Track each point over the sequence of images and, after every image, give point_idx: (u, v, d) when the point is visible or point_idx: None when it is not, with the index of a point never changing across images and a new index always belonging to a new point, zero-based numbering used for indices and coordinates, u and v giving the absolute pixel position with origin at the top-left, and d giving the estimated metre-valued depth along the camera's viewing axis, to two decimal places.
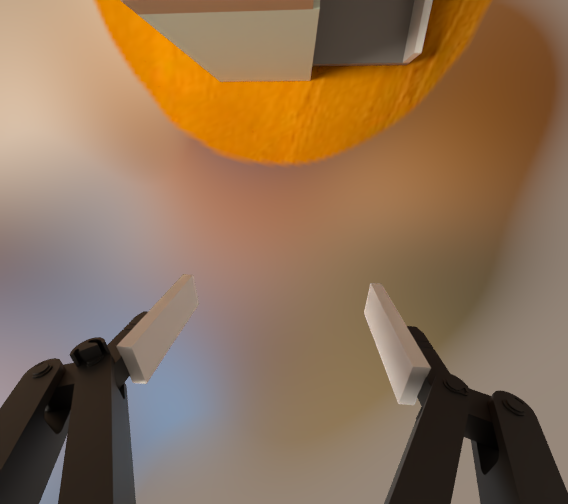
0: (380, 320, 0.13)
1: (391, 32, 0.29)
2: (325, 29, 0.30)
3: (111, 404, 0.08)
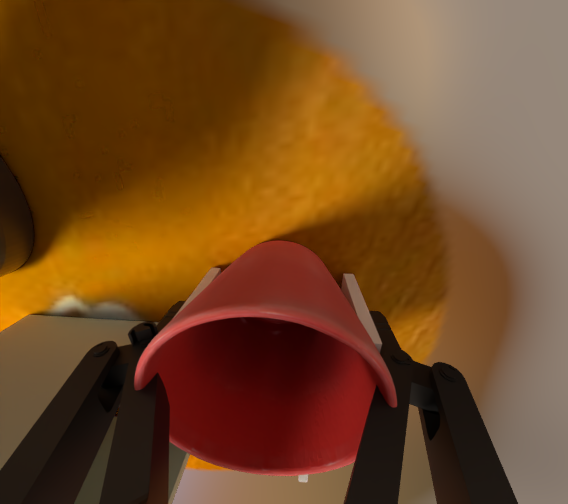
0: None
1: None
2: None
3: (156, 387, 0.09)
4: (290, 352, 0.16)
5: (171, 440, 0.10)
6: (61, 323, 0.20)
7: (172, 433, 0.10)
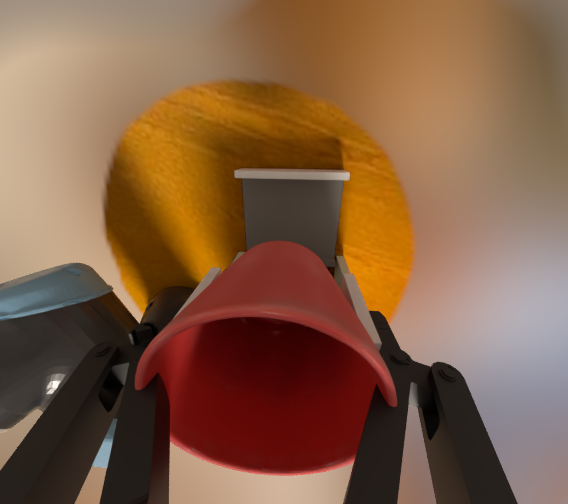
0: None
1: (319, 192, 0.32)
2: (312, 247, 0.36)
3: (156, 387, 0.09)
4: (290, 352, 0.16)
5: (171, 440, 0.10)
6: None
7: (172, 433, 0.10)
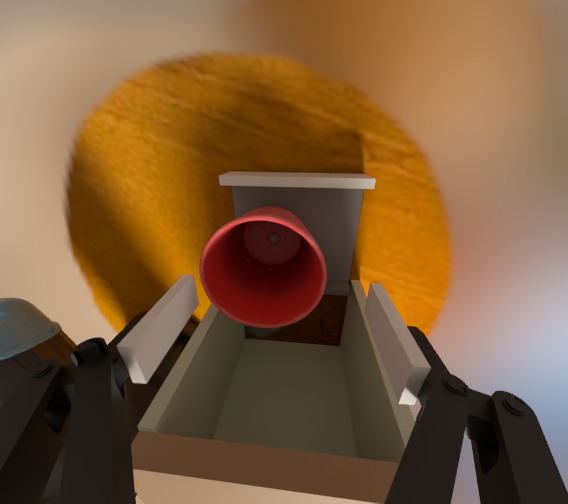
0: (380, 320, 0.13)
1: (331, 202, 0.24)
2: None
3: (111, 404, 0.08)
4: (277, 278, 0.25)
5: (212, 300, 0.19)
6: None
7: (213, 297, 0.19)
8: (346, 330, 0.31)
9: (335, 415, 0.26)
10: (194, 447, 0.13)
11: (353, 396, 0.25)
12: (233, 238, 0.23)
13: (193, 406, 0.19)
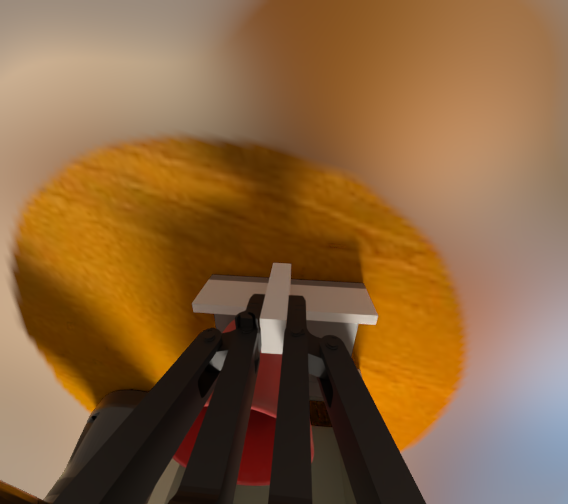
0: None
1: None
2: None
3: (246, 379, 0.09)
4: None
5: (179, 462, 0.16)
6: None
7: (179, 457, 0.16)
8: None
9: None
10: None
11: None
12: None
13: None
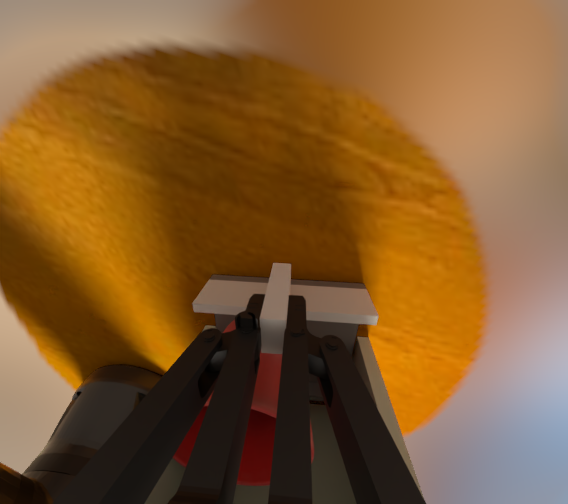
0: None
1: None
2: None
3: (246, 379, 0.09)
4: None
5: (179, 461, 0.16)
6: None
7: (179, 457, 0.16)
8: None
9: None
10: None
11: None
12: None
13: None
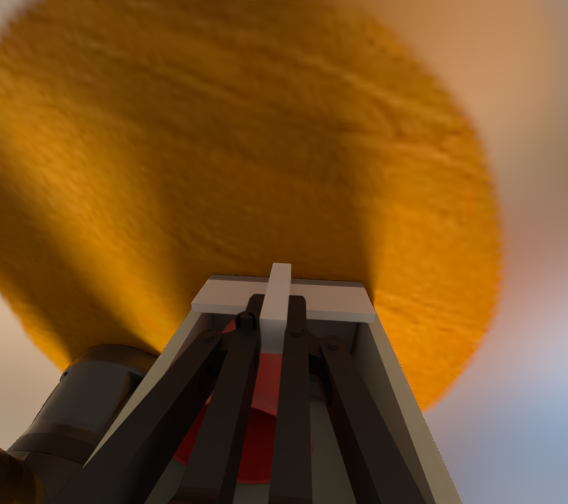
0: None
1: None
2: None
3: (246, 379, 0.09)
4: None
5: (179, 460, 0.16)
6: None
7: (179, 456, 0.16)
8: None
9: None
10: None
11: None
12: None
13: None
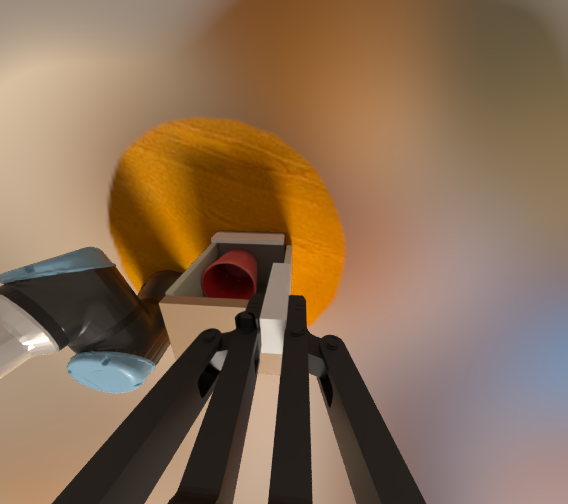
0: None
1: (269, 247, 0.48)
2: (268, 281, 0.51)
3: (246, 379, 0.09)
4: (242, 286, 0.49)
5: (207, 296, 0.42)
6: None
7: (207, 294, 0.42)
8: None
9: None
10: (190, 298, 0.32)
11: None
12: (218, 266, 0.47)
13: None
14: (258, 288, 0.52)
